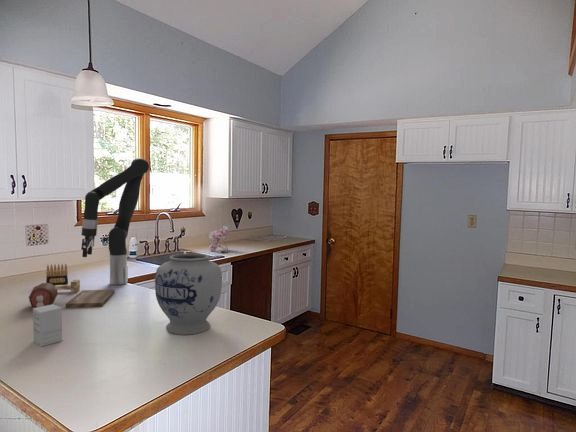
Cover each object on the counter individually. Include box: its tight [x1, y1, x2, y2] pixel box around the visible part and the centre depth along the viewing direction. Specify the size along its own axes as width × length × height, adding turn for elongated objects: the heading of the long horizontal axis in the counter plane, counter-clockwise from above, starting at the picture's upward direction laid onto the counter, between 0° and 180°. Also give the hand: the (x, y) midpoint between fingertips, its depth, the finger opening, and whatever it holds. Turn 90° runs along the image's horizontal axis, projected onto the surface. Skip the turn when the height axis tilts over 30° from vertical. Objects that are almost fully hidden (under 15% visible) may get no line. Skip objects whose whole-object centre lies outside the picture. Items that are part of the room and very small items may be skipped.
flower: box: [208, 225, 231, 253], centre depth 348 cm, size 20×22×25 cm
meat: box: [28, 282, 58, 309], centre depth 184 cm, size 20×12×10 cm, turn 24°
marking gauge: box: [54, 279, 81, 294], centre depth 210 cm, size 12×5×6 cm, turn 101°
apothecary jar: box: [154, 253, 223, 336], centre depth 162 cm, size 27×27×30 cm
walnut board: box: [64, 289, 116, 309], centre depth 196 cm, size 16×24×2 cm, turn 11°
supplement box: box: [32, 303, 63, 347], centre depth 144 cm, size 7×7×13 cm
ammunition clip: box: [45, 263, 69, 286], centre depth 224 cm, size 11×2×12 cm, turn 115°
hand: (87, 255), depth 221 cm, fingers open, 8 cm apart
